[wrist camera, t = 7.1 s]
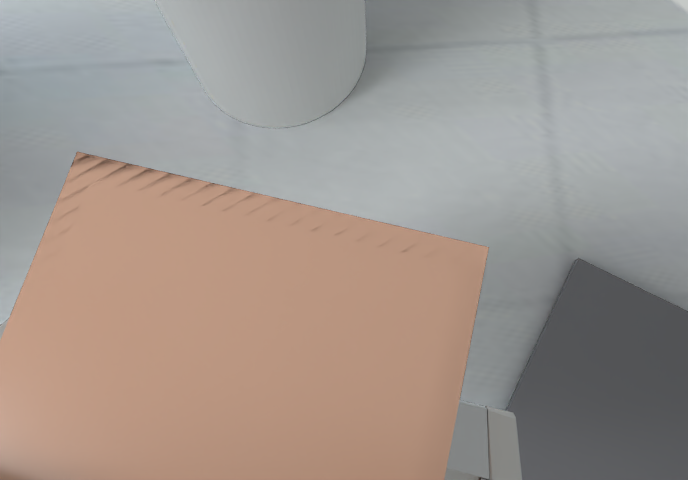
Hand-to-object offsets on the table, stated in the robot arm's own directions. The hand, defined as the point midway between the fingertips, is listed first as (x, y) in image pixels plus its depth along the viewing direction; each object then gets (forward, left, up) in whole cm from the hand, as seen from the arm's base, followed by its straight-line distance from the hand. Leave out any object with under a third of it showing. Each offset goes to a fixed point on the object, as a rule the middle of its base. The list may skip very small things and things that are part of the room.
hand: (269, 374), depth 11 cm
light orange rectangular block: (0, -1, -4) cm, 4 cm away
